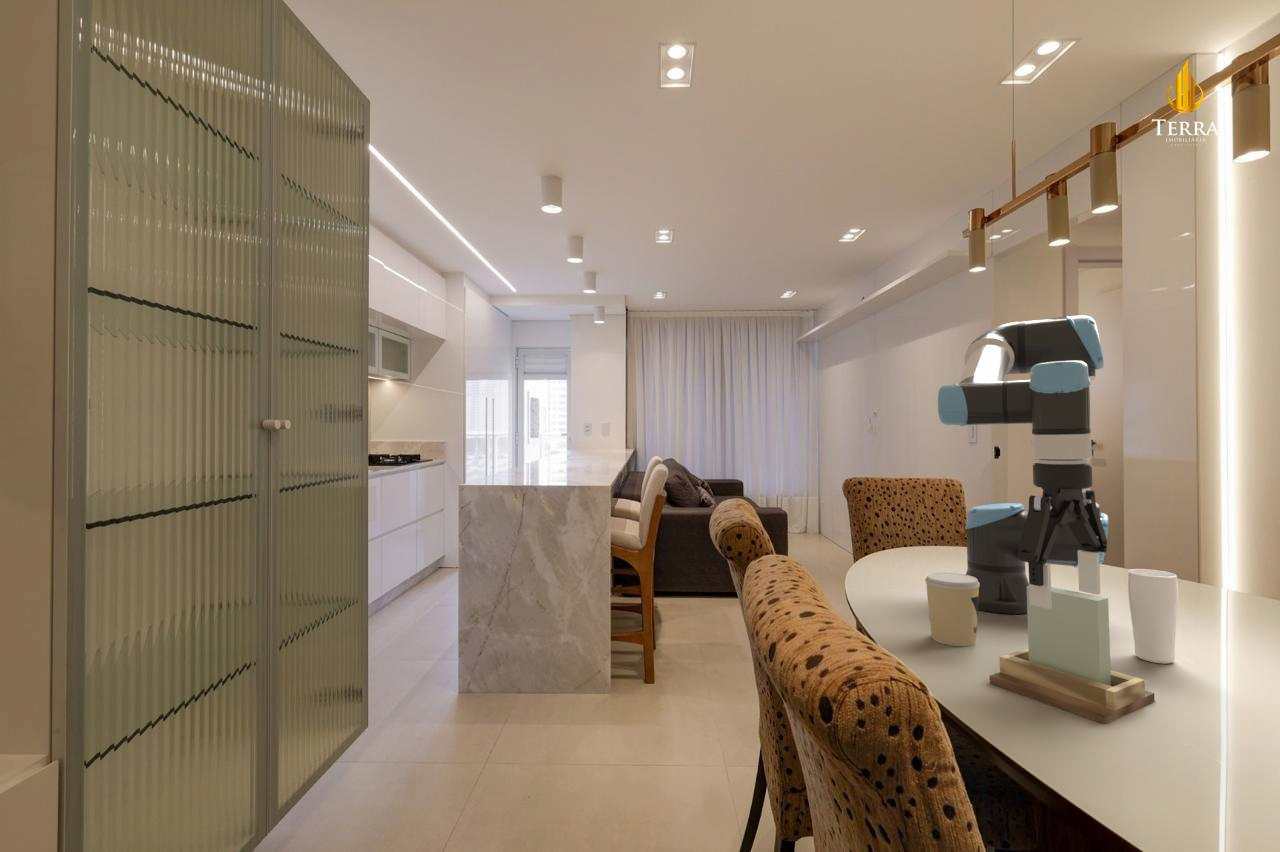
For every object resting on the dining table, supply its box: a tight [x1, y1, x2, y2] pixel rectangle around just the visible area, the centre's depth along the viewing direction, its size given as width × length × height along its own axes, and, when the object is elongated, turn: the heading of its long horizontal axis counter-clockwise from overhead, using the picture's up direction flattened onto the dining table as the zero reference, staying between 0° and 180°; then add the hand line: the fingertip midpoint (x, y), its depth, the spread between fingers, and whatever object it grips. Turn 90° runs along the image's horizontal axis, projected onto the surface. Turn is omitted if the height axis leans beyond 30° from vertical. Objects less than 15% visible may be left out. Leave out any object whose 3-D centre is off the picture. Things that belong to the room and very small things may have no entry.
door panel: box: [1026, 586, 1112, 686], centre depth 93 cm, size 3×10×14 cm, turn 28°
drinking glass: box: [1126, 568, 1179, 665], centre depth 106 cm, size 7×7×15 cm
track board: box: [989, 647, 1155, 725], centre depth 93 cm, size 14×16×4 cm
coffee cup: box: [925, 572, 980, 647], centre depth 118 cm, size 9×9×12 cm
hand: (1065, 599), depth 94 cm, fingers open, 13 cm apart
